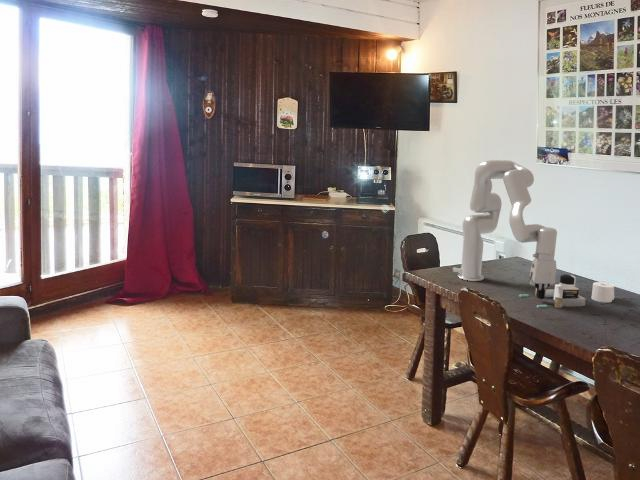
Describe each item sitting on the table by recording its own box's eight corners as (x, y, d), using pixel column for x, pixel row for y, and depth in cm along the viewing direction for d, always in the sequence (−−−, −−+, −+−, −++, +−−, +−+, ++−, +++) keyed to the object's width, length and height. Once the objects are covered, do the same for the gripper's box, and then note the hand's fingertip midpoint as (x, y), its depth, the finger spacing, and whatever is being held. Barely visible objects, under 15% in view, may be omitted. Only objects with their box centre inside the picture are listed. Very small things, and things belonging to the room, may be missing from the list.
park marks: (537, 307, 231) (537, 305, 231) (519, 296, 247) (519, 294, 246) (546, 307, 232) (546, 305, 232) (527, 296, 247) (528, 294, 247)
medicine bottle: (561, 304, 236) (564, 277, 234) (553, 299, 243) (556, 273, 240) (577, 304, 237) (580, 277, 234) (568, 299, 244) (571, 273, 241)
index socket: (561, 306, 234) (562, 298, 233) (544, 296, 247) (544, 289, 247) (584, 306, 235) (585, 298, 234) (566, 296, 249) (566, 289, 248)
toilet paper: (614, 297, 249) (616, 282, 247) (610, 303, 240) (612, 288, 238) (594, 294, 253) (596, 279, 252) (589, 300, 244) (591, 284, 243)
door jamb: (556, 308, 231) (557, 298, 231) (535, 295, 249) (536, 286, 248) (561, 307, 232) (562, 298, 231) (539, 295, 249) (540, 286, 248)
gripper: (532, 258, 231) (528, 301, 235) (566, 258, 233) (561, 300, 237) (523, 254, 238) (519, 295, 242) (556, 254, 241) (551, 295, 244)
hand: (540, 298), depth 239 cm, fingers closed
